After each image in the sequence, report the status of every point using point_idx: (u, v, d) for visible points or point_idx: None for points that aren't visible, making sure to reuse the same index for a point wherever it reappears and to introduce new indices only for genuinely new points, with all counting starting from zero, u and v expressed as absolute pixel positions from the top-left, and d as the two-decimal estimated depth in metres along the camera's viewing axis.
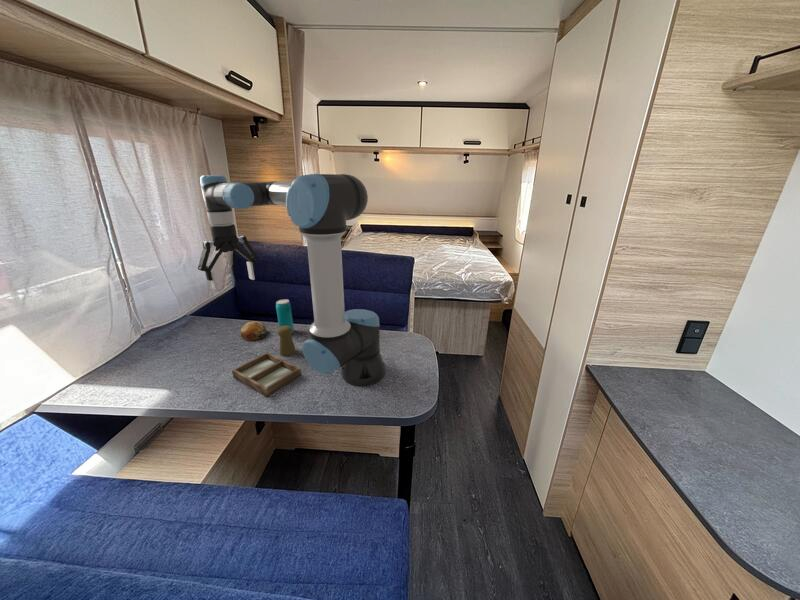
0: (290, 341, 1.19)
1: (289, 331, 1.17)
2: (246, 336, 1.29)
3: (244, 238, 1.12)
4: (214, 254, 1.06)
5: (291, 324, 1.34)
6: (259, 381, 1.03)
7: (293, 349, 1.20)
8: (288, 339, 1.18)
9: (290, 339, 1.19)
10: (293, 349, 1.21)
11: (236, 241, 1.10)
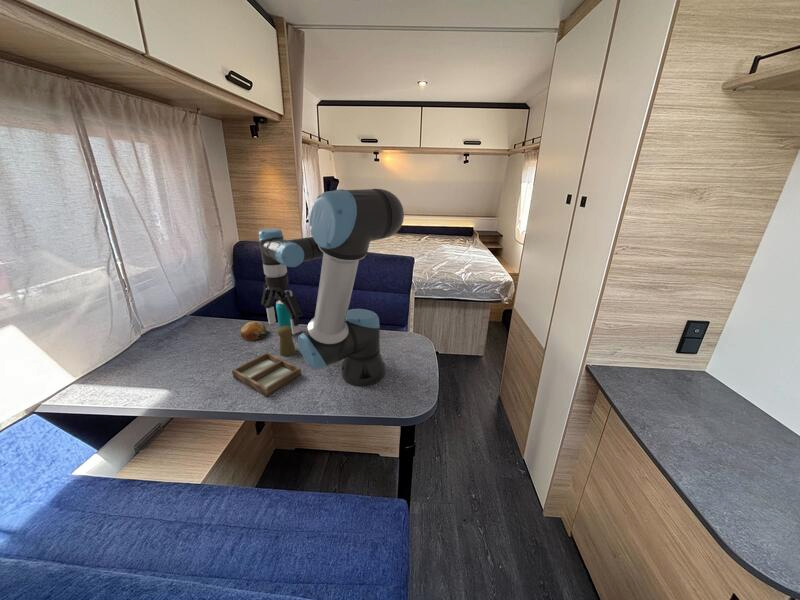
0: (290, 341, 1.19)
1: (289, 331, 1.17)
2: (246, 336, 1.29)
3: (286, 293, 1.08)
4: None
5: None
6: (259, 381, 1.03)
7: (293, 349, 1.20)
8: (288, 339, 1.18)
9: (290, 339, 1.19)
10: (293, 349, 1.21)
11: (281, 293, 1.10)
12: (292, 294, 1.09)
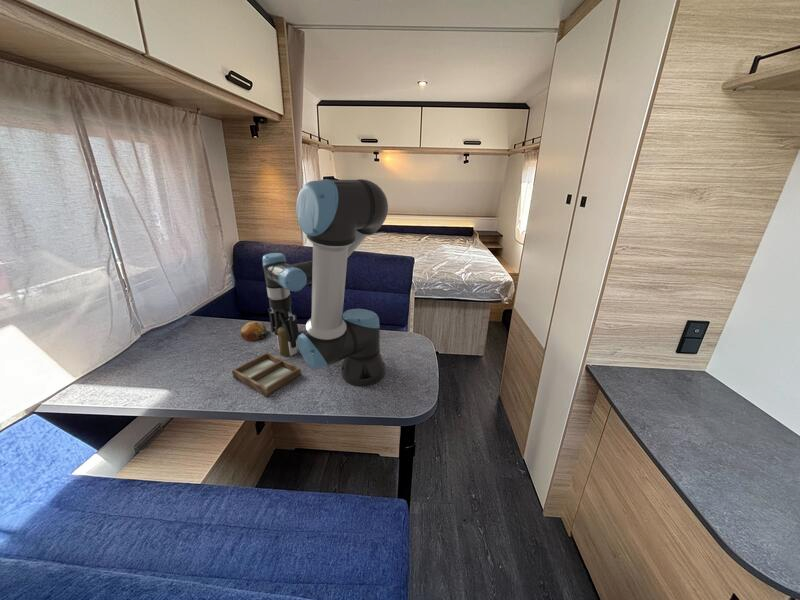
0: None
1: None
2: (246, 336, 1.29)
3: (289, 318, 1.12)
4: None
5: None
6: (259, 381, 1.03)
7: None
8: (288, 339, 1.18)
9: None
10: None
11: (284, 314, 1.13)
12: (295, 319, 1.13)
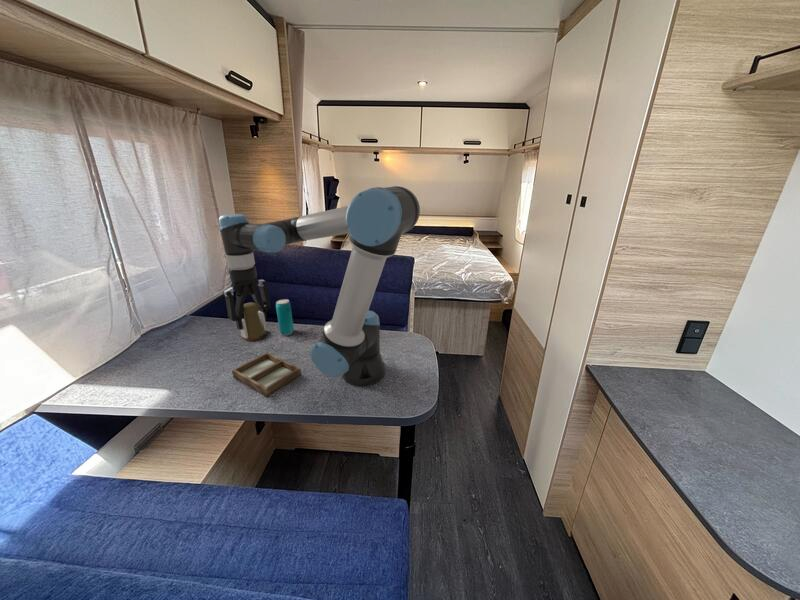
0: None
1: None
2: None
3: (264, 282, 1.02)
4: (238, 301, 0.97)
5: (291, 324, 1.34)
6: (259, 381, 1.03)
7: None
8: None
9: None
10: None
11: (256, 283, 1.00)
12: None
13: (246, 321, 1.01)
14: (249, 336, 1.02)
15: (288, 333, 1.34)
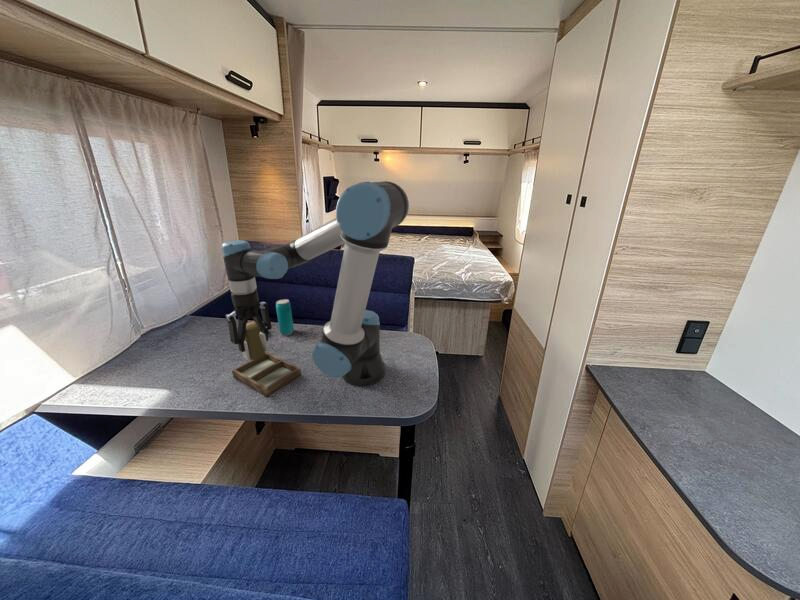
0: None
1: None
2: None
3: (266, 305, 1.05)
4: (241, 324, 0.99)
5: (291, 324, 1.34)
6: (259, 381, 1.03)
7: None
8: None
9: None
10: None
11: (257, 306, 1.02)
12: None
13: (248, 343, 1.03)
14: (251, 357, 1.04)
15: (288, 333, 1.34)
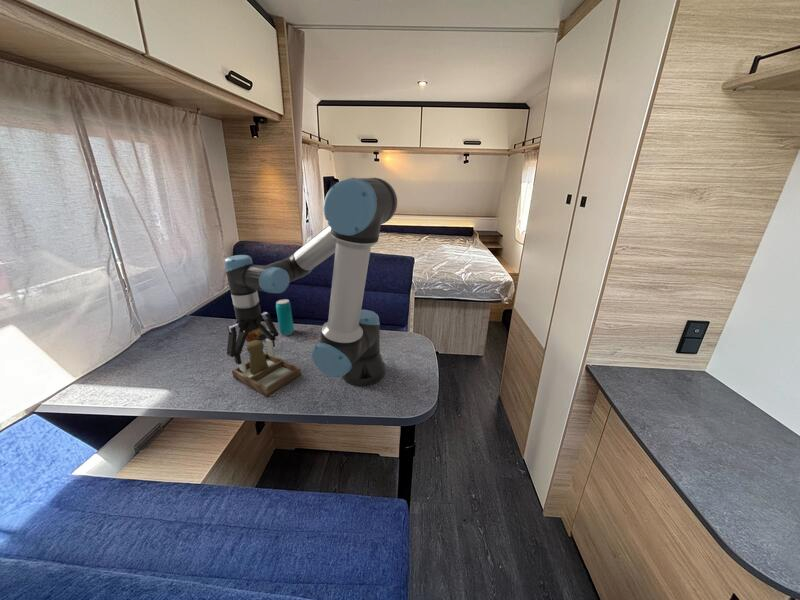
0: None
1: None
2: None
3: (268, 315, 1.06)
4: (240, 337, 1.00)
5: (291, 324, 1.34)
6: (259, 381, 1.03)
7: None
8: None
9: None
10: None
11: (260, 318, 1.04)
12: None
13: (252, 359, 1.05)
14: (254, 373, 1.06)
15: (288, 333, 1.34)
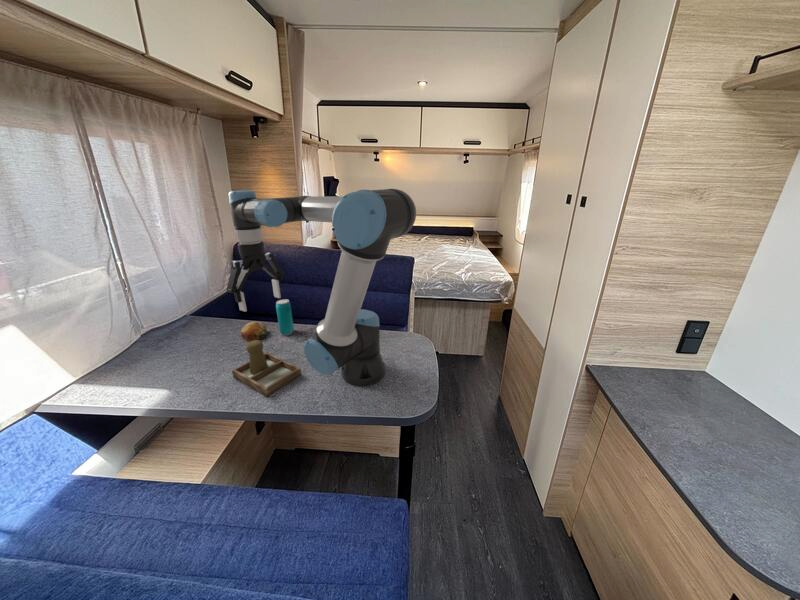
0: None
1: None
2: (247, 336, 1.29)
3: (271, 255, 1.06)
4: (243, 274, 0.99)
5: (291, 324, 1.34)
6: (259, 381, 1.03)
7: None
8: None
9: None
10: None
11: (264, 259, 1.04)
12: None
13: (251, 359, 1.05)
14: (254, 373, 1.06)
15: (288, 333, 1.34)
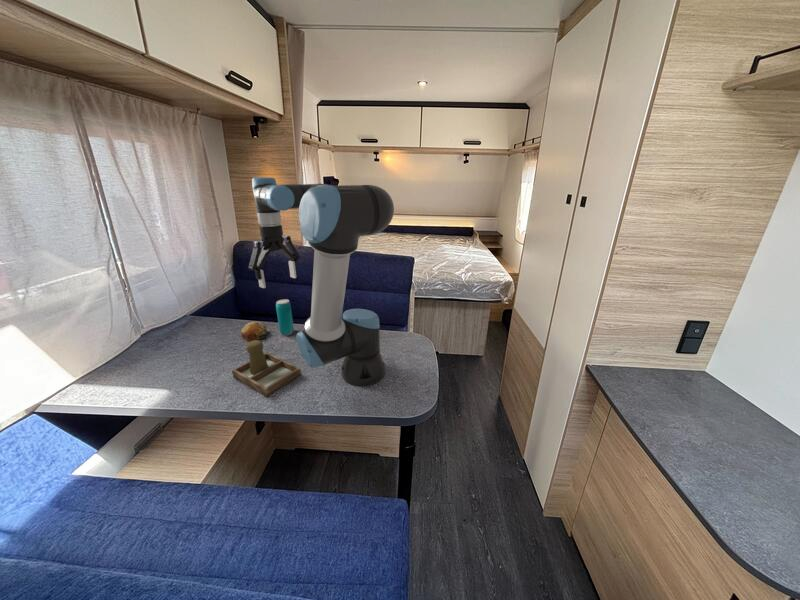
0: None
1: None
2: (247, 336, 1.29)
3: (288, 238, 1.15)
4: (263, 253, 1.09)
5: (291, 324, 1.34)
6: (259, 381, 1.03)
7: None
8: None
9: None
10: None
11: (282, 241, 1.13)
12: None
13: (251, 359, 1.05)
14: (254, 373, 1.06)
15: (288, 333, 1.34)
